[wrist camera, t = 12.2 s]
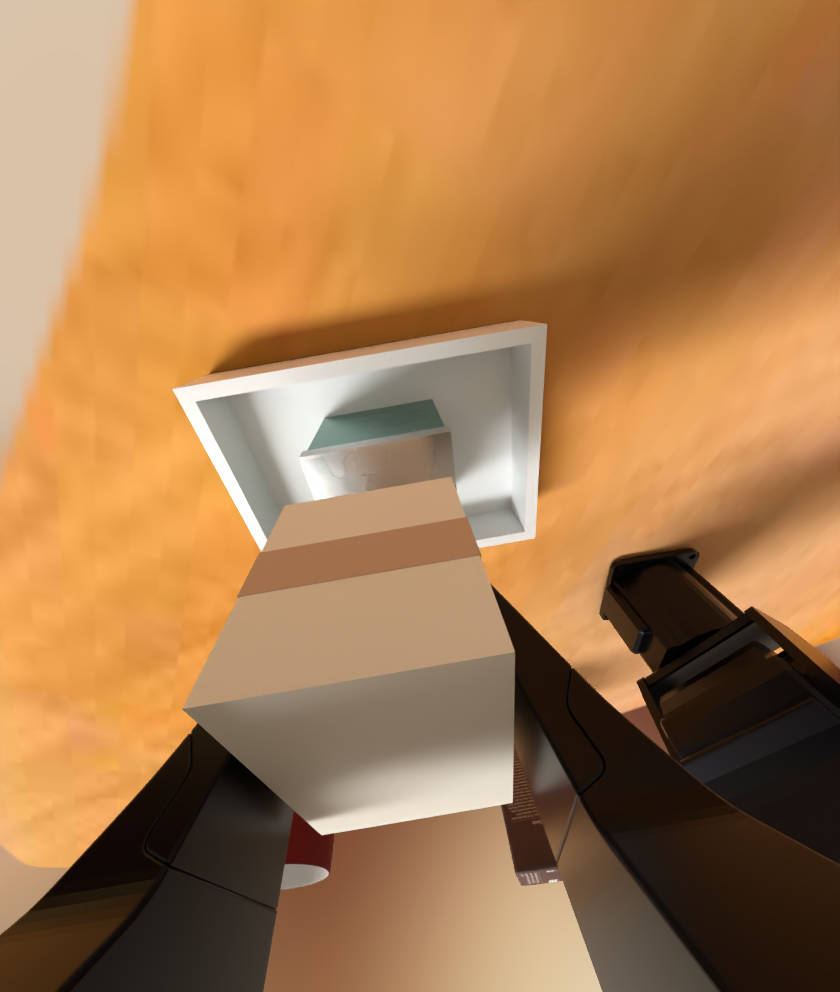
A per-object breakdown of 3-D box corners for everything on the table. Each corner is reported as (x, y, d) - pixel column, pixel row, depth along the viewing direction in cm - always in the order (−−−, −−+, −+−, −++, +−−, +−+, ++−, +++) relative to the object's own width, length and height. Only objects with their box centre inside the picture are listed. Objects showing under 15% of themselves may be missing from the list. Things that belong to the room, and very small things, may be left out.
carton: (467, 620, 12) (513, 803, 7) (345, 640, 12) (320, 835, 7) (451, 475, 8) (516, 650, 4) (284, 505, 8) (179, 709, 4)
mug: (296, 694, 30) (260, 850, 21) (370, 713, 33) (365, 856, 24) (252, 742, 34) (207, 890, 25) (322, 755, 37) (302, 891, 28)
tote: (520, 319, 15) (547, 323, 13) (516, 509, 21) (534, 538, 18) (208, 374, 15) (172, 388, 13) (291, 548, 21) (278, 582, 18)
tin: (445, 492, 19) (462, 547, 15) (351, 508, 19) (341, 568, 15) (433, 396, 16) (450, 431, 12) (321, 416, 16) (298, 457, 12)
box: (475, 700, 33) (514, 876, 23) (517, 691, 33) (576, 864, 23) (483, 725, 37) (521, 890, 26) (522, 717, 36) (575, 880, 26)
